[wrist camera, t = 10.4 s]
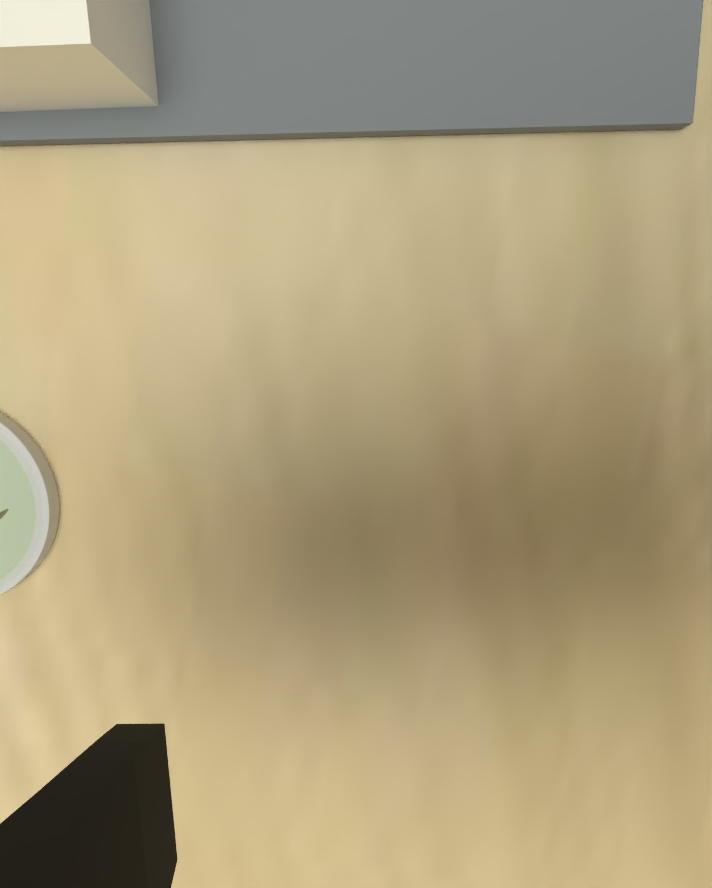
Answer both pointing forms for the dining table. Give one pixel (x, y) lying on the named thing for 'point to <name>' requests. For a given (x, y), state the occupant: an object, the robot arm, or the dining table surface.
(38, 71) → the card box
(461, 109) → the mat
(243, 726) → the dining table surface
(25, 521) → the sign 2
